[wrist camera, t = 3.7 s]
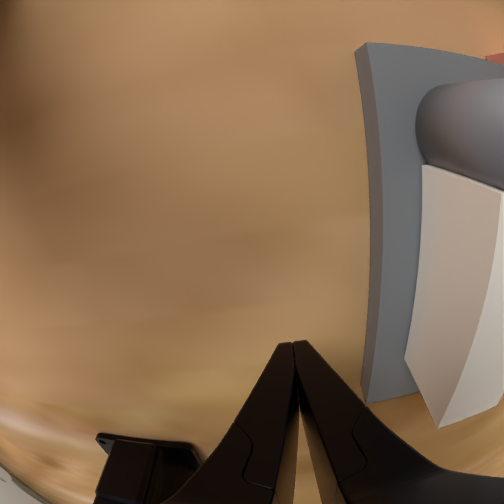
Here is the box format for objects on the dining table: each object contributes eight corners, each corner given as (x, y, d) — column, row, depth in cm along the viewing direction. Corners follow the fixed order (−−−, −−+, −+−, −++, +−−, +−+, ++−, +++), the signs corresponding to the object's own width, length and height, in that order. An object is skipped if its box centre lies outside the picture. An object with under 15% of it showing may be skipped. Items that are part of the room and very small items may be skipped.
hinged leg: (409, 80, 7) (488, 65, 3) (482, 90, 6) (563, 90, 3) (400, 359, 10) (432, 430, 7) (460, 344, 10) (499, 404, 7)
